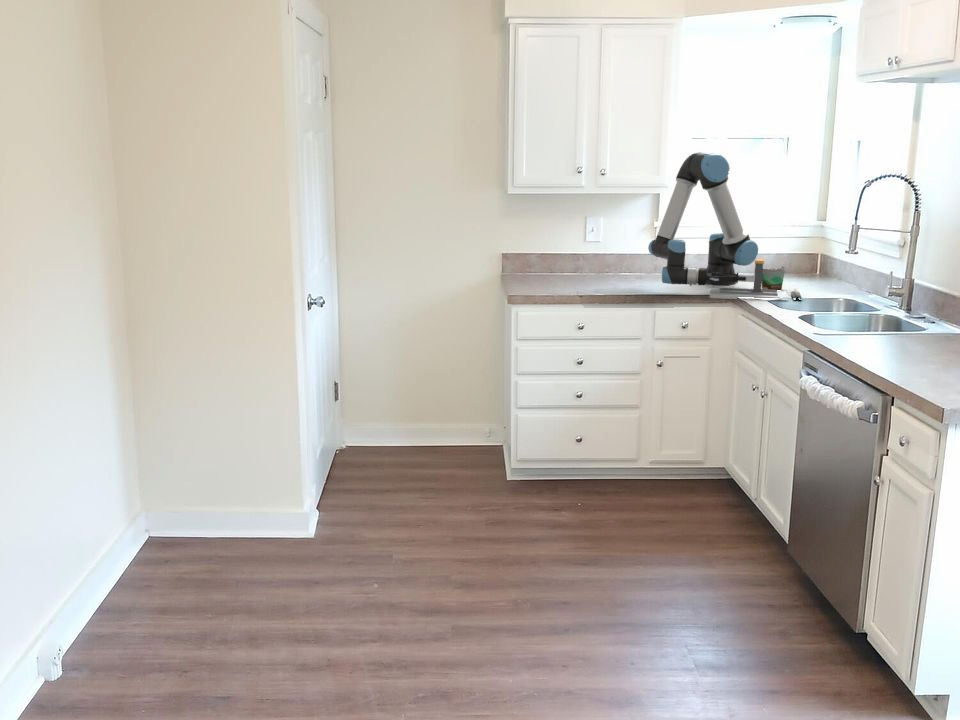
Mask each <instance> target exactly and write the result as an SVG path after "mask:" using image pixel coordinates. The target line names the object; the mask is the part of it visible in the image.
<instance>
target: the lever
mask: <svg viewBox="0 0 960 720" xmlns="http://www.w3.org/2000/svg"><path fill="white" fill-rule="evenodd" d="M754 263H755V264H754V274H753V275H754V282H753V288H750V289H751V292H760V293H763V289H762V272H763V269H764V264H765V260H764V258H756V259H755V260H754Z"/></svg>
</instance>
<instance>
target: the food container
mask: <svg viewBox="0 0 960 720" xmlns="http://www.w3.org/2000/svg"><path fill="white" fill-rule="evenodd" d="M785 274H787V270H786V267H785V266H781V268H770V269H769V268H763V272H762V284H761V289H765V290H781V291H782V289H783V283H784V276H785Z"/></svg>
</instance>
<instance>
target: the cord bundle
mask: <svg viewBox="0 0 960 720" xmlns="http://www.w3.org/2000/svg"><path fill="white" fill-rule="evenodd" d="M790 295H791V298H792V297H793V298H797V297H798V298H800V299H801V298H802V296H801V293H800V291H798V289H797V288H794V289H793V290H792V291H790ZM793 298H792V299H793ZM798 298H797V299H798Z"/></svg>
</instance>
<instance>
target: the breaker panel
mask: <svg viewBox="0 0 960 720" xmlns="http://www.w3.org/2000/svg"><path fill="white" fill-rule="evenodd" d="M751 289H752V288H737V287H736V288H734V287H719V288H715V287H713V288H712V287H711V288H710V289H709V298H710V299H727V300H728V299H729V300H738V299H737V298H738V297H754V298H780V297H783V298H788V297H789V296H788V293H787V291H786V290H781V291H777V290H765V289H763V293H760V292H751ZM788 299H789V298H788Z"/></svg>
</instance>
